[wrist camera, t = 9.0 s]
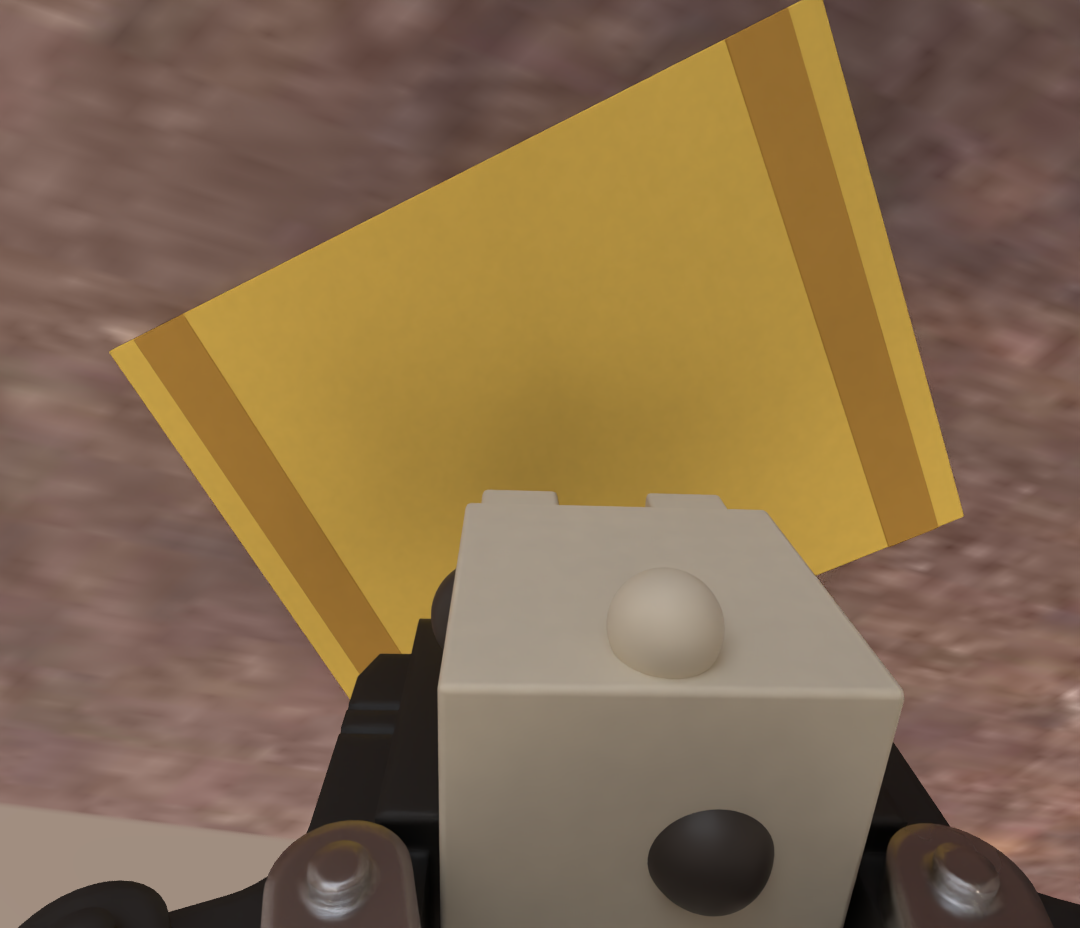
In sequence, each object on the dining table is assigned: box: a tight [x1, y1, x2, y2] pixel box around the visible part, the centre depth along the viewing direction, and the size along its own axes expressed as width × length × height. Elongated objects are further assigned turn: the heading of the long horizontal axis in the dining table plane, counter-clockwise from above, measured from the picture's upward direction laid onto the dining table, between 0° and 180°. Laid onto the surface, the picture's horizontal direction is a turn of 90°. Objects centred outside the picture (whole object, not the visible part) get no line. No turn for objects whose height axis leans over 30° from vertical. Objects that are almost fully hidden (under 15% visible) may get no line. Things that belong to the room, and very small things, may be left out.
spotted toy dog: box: [431, 490, 904, 928], centre depth 8 cm, size 9×4×8 cm, turn 178°
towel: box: [110, 0, 964, 699], centre depth 21 cm, size 20×15×1 cm
